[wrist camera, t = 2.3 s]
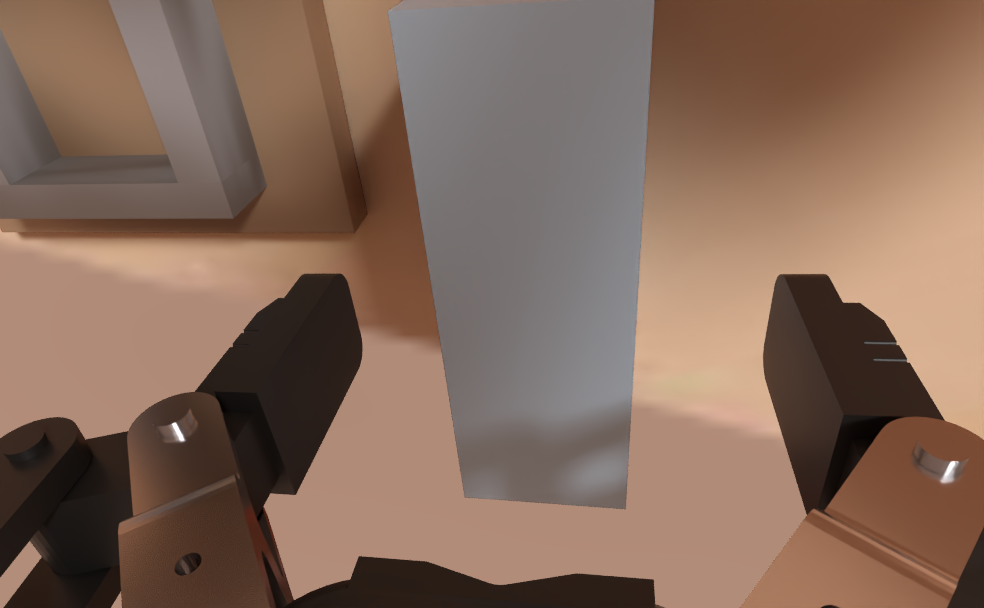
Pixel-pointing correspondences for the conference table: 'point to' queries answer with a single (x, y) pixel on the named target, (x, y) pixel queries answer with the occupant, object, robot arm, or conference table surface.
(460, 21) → the gray rectangular block
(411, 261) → the conference table surface
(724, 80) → the conference table surface
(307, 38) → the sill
